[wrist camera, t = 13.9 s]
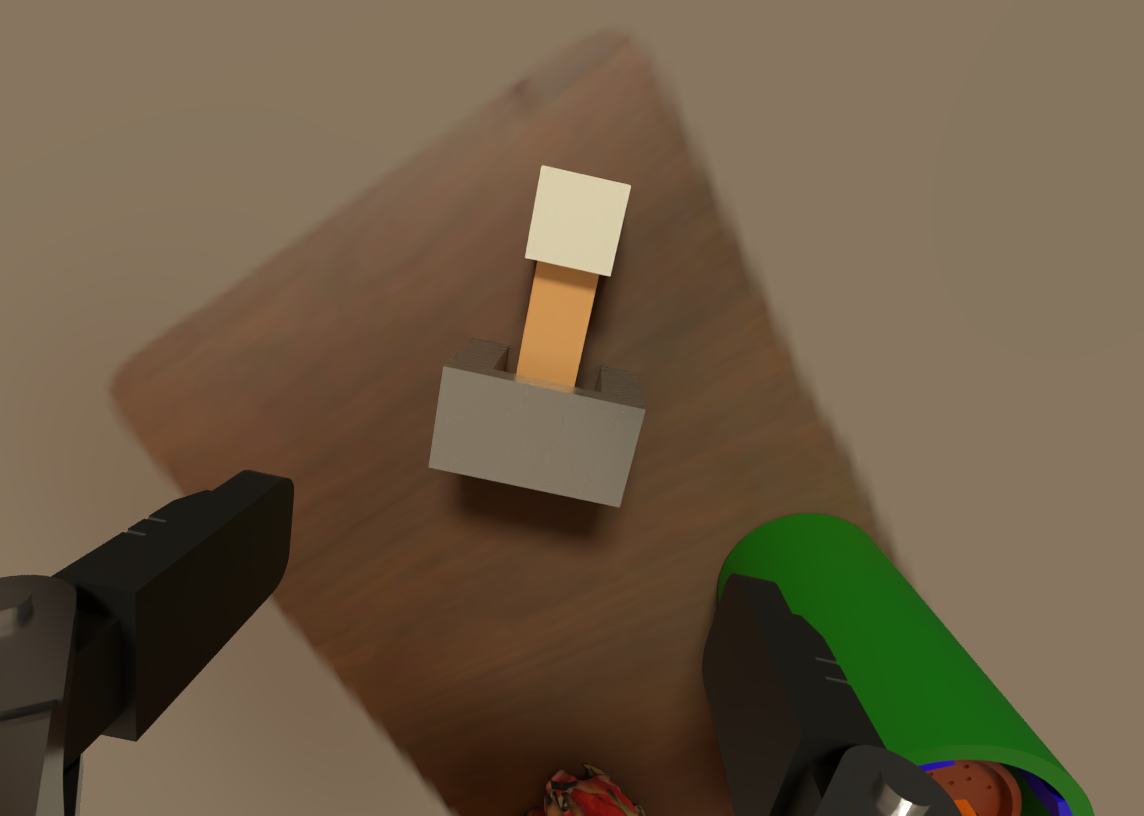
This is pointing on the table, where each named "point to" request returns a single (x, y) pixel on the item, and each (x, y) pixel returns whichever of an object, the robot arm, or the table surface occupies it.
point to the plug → (567, 267)
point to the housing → (536, 427)
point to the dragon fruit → (585, 796)
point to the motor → (908, 668)
